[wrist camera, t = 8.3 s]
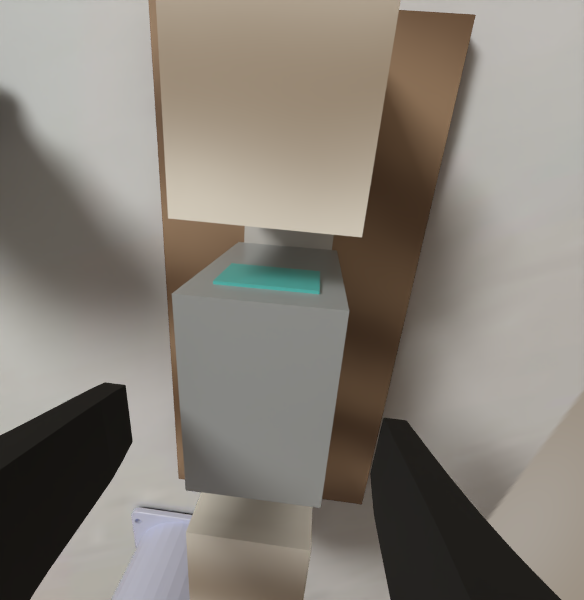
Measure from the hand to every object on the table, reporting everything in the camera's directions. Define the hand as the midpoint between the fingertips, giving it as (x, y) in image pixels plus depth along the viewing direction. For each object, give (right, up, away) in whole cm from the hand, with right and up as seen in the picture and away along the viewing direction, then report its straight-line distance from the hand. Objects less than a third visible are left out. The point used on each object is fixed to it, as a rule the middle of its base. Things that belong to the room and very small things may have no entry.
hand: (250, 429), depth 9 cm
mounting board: (+1, +3, +8) cm, 9 cm away
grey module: (+1, +3, +7) cm, 7 cm away
